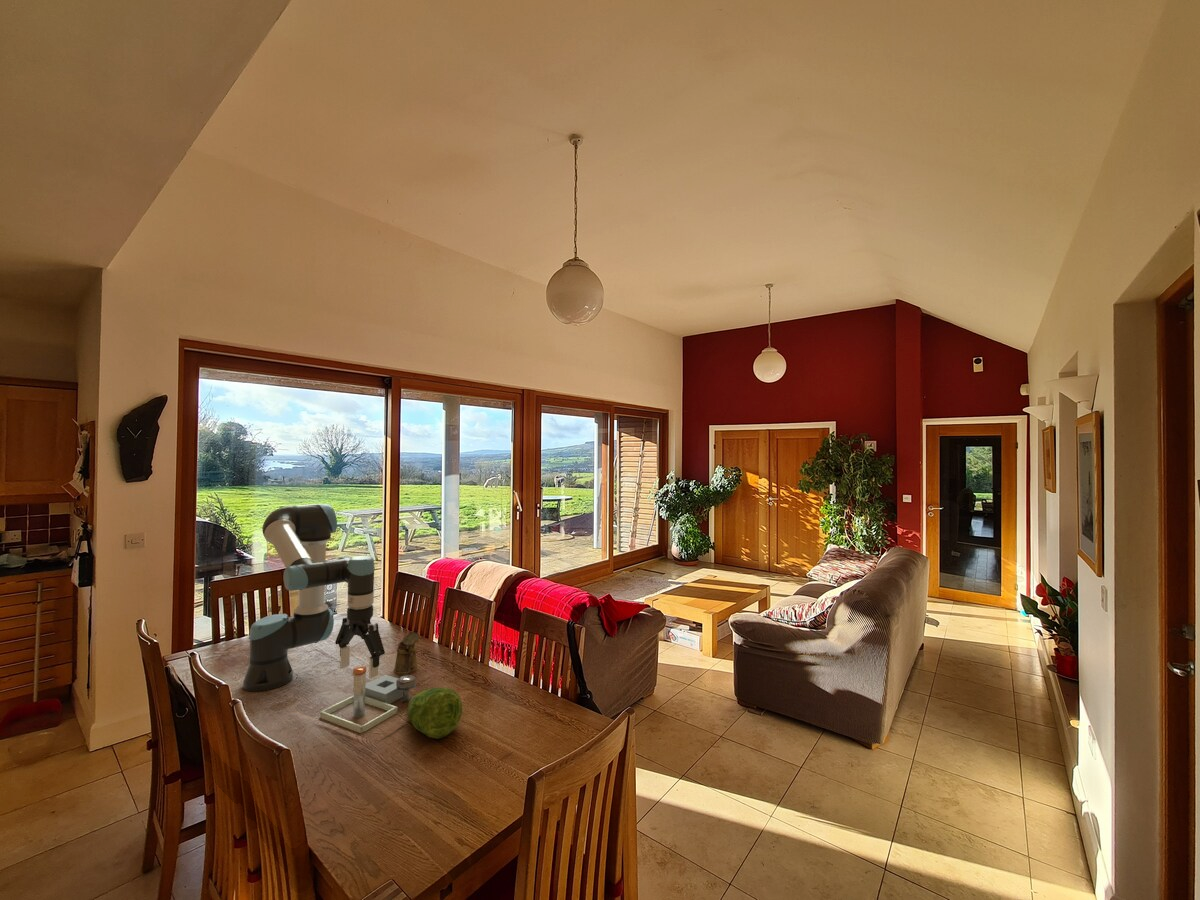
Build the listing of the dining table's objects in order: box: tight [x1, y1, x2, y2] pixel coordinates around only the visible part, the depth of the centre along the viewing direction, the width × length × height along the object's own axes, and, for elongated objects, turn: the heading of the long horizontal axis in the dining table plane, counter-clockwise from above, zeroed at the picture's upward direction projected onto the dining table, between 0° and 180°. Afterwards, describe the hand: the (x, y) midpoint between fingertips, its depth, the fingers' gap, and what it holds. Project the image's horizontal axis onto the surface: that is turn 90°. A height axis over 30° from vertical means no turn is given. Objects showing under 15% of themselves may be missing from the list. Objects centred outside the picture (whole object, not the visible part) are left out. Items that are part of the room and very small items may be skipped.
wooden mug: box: [393, 631, 421, 676], centre depth 188 cm, size 9×14×18 cm, turn 36°
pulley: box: [396, 674, 418, 703], centre depth 166 cm, size 6×6×8 cm
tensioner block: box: [365, 674, 403, 705], centre depth 169 cm, size 12×10×5 cm
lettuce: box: [406, 686, 463, 740], centre depth 153 cm, size 14×23×13 cm, turn 42°
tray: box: [319, 694, 398, 738], centre depth 157 cm, size 19×13×3 cm
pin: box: [352, 666, 367, 719], centre depth 157 cm, size 4×4×15 cm
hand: (359, 671), depth 157 cm, fingers open, 13 cm apart
